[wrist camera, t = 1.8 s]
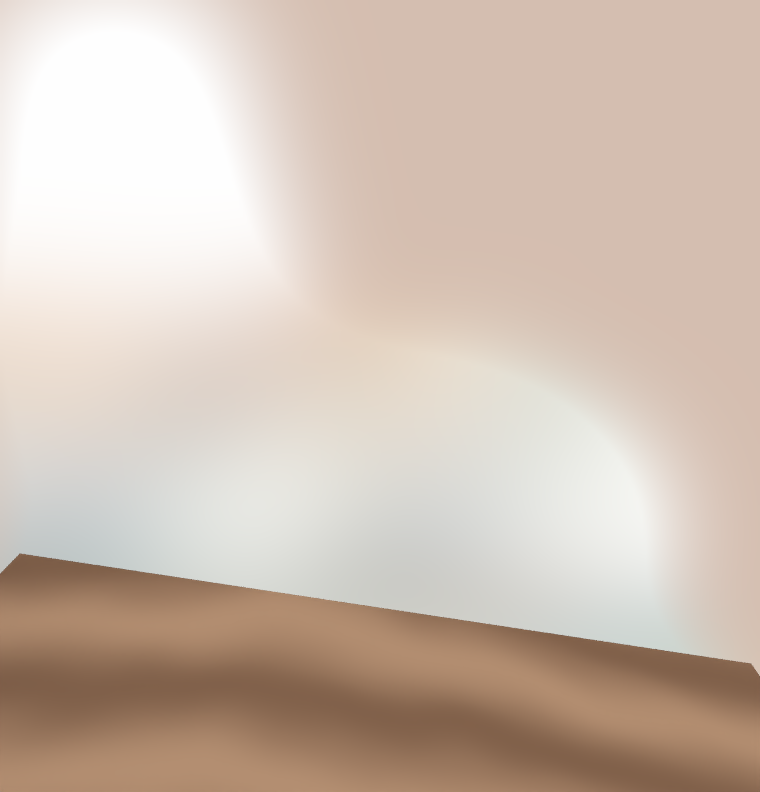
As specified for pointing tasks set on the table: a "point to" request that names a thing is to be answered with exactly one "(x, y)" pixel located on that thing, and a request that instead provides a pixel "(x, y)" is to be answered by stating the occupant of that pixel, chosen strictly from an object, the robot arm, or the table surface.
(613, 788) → the walnut stool
